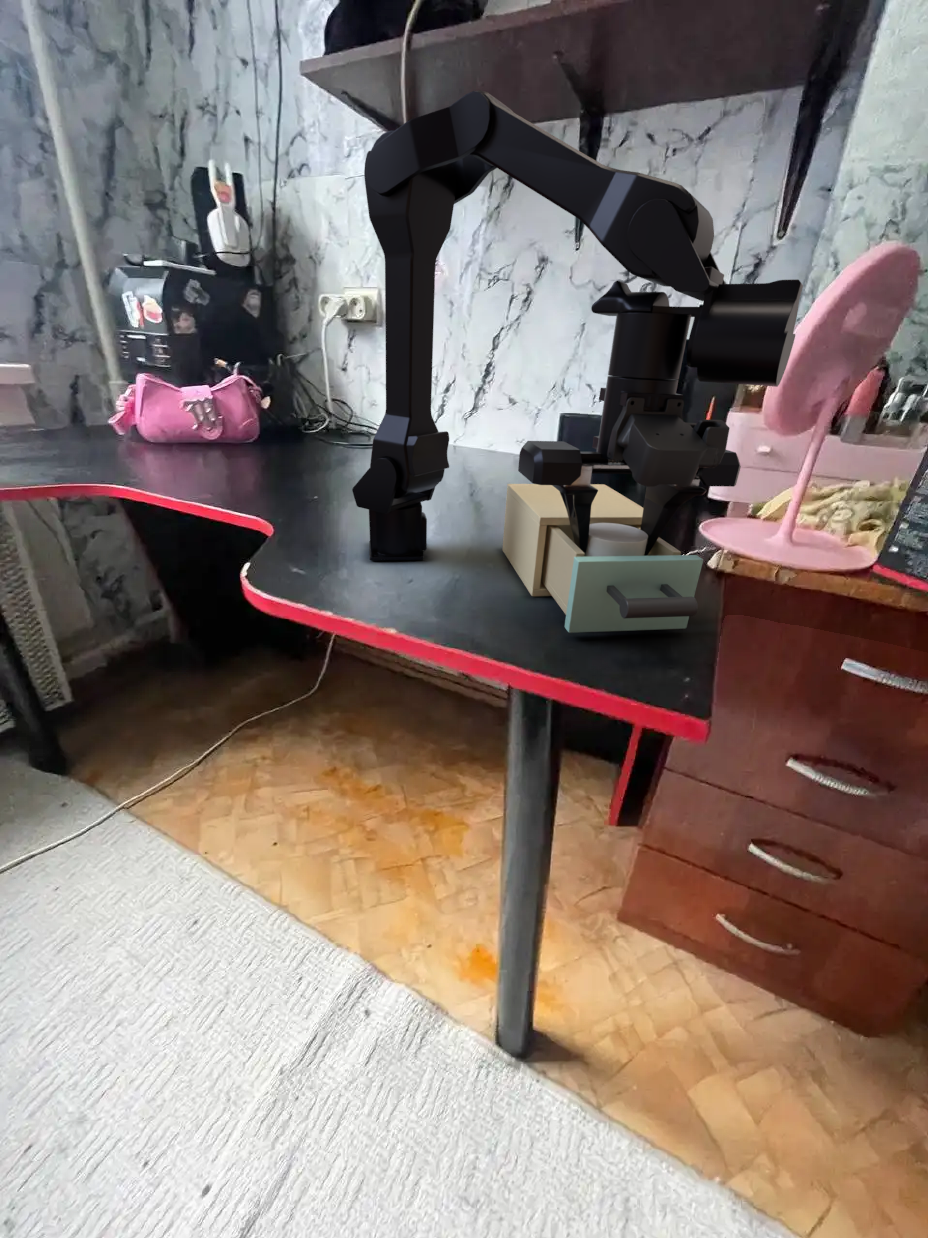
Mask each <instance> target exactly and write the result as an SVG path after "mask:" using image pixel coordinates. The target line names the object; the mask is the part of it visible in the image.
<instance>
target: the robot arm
mask: <svg viewBox="0 0 928 1238" xmlns="http://www.w3.org/2000/svg"><path fill="white" fill-rule="evenodd" d="M496 169H497V170H500V171H502V172H503V173H504V174H506V175H508V176H509V177H511V178H513V179H514V180H515V181H517V182H519V183H520V184H522V185H524V186H525V187H527V188H529V189H530V190H531V191H534V192H535V193H537V194H538V195H539V196H542V197H543V198H544V199H546V200H547V201H549V202H551V203H552V204H554V205H556V206H557V207H559V208H561V209H562V210H564V211H566V212H567V213H568V214H570V215H572V217H575V218H577V219H578V220H579V221H580V222H581V223H582V224H583V225H584V226H585V227H586V228H587V229H588V230H589V231H590V232H591V234H592V235H593V236H594V237H595V239H596V240H597V241H598V242H599V244H600V245H601V246H602V247H603V248H604V249H605V250H606V251H607V252H608V253H609V254H610V255H611V256H612V257H613V258H614V259H615V260H616V261H617V262H618V263H619V264H620V265H621V266H622V267H623V268H624V269H625V270H626V271H627V272H628V273H630V275H633V276H635V277H638V278H641V279H643V280H645V281H648V282H651V283H654V284H656V285H659V286H661V287H666V288H667V287H668V288H669V287H670V288H671V289H673V290H674V291H675V292H677V293H680V294H682V295H685V296H688V297H691V298H693V299H695V300H698V301H701V302H703V303H702V306H671V305H670V300H669V296H668V294H667V293H666V292H664V291H631V288H630V287H629V285H628V283H626V282H623V281H620V280H615V281H614V282H613V284H612V285H611V287H610V288H609V289H608V290H607V291H606V292H605V293H604V294H603V295H602V296H601V297H599V298H598V299H597V300H596V301H595V302H593V303H592V304H591V306H590V307H591V308H590V309H591V310H590V311H591V312H592V313H593V314H597V315H601V316H607V317H615V324H614V329H613V338H612V344H611V350H610V358H609V363H608V371H607V376H606V377H607V378H606V386H605V387H600V390H599V398H598V400H599V401H601V402H602V401H603V407H602V412H601V413H602V414H601V420H600V426H599V433H598V435H594V436H593V438H592V439H593V441H592V446H591V447H592V449H595V450H596V451H581V449H579V448H578V447H575V446H573V445H571V444H570V443H567V442H566V441H561V440H560V441H558V440H556V441H555V440H527V441H526V442H525V443H524V445H523V446H521V449H520V451H519V456H518V457H519V458H518V467H517V468H518V469H517V470H518V471H517V472H519V474H521V475H522V476H523V477H524V478H525V479H526V480H528V481H529V482H530V484H538V485H552V486H554V487H555V488H556V489H557V490H559V491H560V494H561V497H562V499H563V502H564V504H565V507H566V510H567V514H568V517H569V521H570V525H571V529H572V533H573V537H574V541H575V544H576V545H577V546H578V547H579V548H580V549H581V550H582V551H583V552H584V553H585V554H586V550H587V545H588V538H589V527H590V515H591V505H592V502H593V500H594V498H595V496H596V494H597V492H598V490H597V489H596V488H594V487H593V486H591V485H590V484H592V483H591V482H592V475H593V474H595V475H596V474H597V475H598V474H599V475H601V474H603V475H605V474H607V475H631V476H632V479H633V480H634V481H635V482H636V483H637V484H639V485H640V486H643V487H646V488H645V496H644V501H643V515H642V522H641V529H640V530H642V531H644V532H645V533H647V535H648V541H647V546H646V550H645V555H644V556H647V555H648V554H649V552H650V550H651V549H652V547H653V546H654V544H655V542H656V541H657V539H658V538H660V536H661V535H662V533H663V531H664V530H665V528H666V527H667V525H668V523H669V522H670V520H671V519H672V518H673V516H674V515H675V514H676V512H677V511H678V510H679V508H681V506H682V505H683V504H685V503H686V502H688V501H689V500H691V499H692V498H694V497H696V496H697V497H698V496H703V495H704V494H705V493H706V492H707V489H706V488H704V487H702V486H700V482H701V483H702V485H703V486H705V487H735V486H736V485H737V484H738V479H739V475H740V471H741V467H742V465H741V463H740V458H739V456H738V454H737V452H735V451H732V450H729V449H727V445H728V440H729V435H730V428H731V427H729V426H728V424H727V423H725V421H724V420H722V419H705V418H704V419H700V420H699V421H698V422H685V421H684V420H683V419H684V418H683V411H684V410H683V409H684V405H685V402H684V394H681V393H677V389H678V385H679V384H678V383H679V380H680V374H681V369H682V365H683V364H682V363H683V360H684V355H685V350H686V365H687V367H689V368H695V369H696V375H697V379H698V381H699V382H702V383H717V384H732V385H745V386H747V385H748V386H761V387H779V385H780V384H781V381H782V379H783V377H784V374H785V373H786V369H787V365H788V363H789V359H790V356H791V353H792V350H793V348H794V347H793V346H794V343H795V339H796V333H794V330H795V327H796V322H797V318H798V312H799V306H800V305H799V304H800V299H801V295H802V293H803V288H804V285H803V283H802V282H801V280H800V279H777V280H775V281H774V280H773V281H771V282H763V283H757V282H756V283H726V281H725V279H724V278H725V274H724V273H723V272H721V270H720V269H719V267H718V264H717V262H716V260H715V258H714V256H713V254H712V249H713V245H714V244H713V243H714V238H715V229H714V228H715V227H714V226H715V225H714V218H713V217H712V215H711V213H710V211H709V210H708V209H707V208H706V207H705V206H704V205H703V204H702V203H701V202H700V201H699V200H698V199H697V198H696V197H695V196H694V195H692V194H691V192H689V191H688V190H687V189H686V188H685V187H684V186H683V185H682V184H679V183H677V182H674V181H670V180H667V179H663V178H660V177H656V176H653V175H649V174H645V173H642V172H638V171H630V170H623V169H618V168H614V167H610V166H607V165H604V164H602V163H600V162H599V161H597V160H596V159H594V158H592V157H590V156H589V155H587V154H586V153H583V152H582V151H580V150H578V149H577V148H575V147H573V146H572V145H570V144H568V143H566V142H565V141H563V140H561V139H559V138H558V137H557V136H555V135H553V134H552V133H549V132H548V131H546V130H544V129H543V128H541V127H539V126H537V125H536V124H534V123H532V122H531V121H529V120H527V119H525V118H524V117H522V116H520V115H519V114H517V113H515V112H514V111H513V110H512V109H511V108H510V107H509V106H507V105H505V104H504V103H503V102H501V101H500V100H499V99H497V97H494V96H493V95H492V94H490V93H489V92H488V91H485V90H481V89H479V90H478V89H477V90H476V91H475V90H473V91H470V92H468V93H466V94H464V95H463V96H462V97H460V98H459V99H458V100H456V101H454V103H452V104H450V105H449V106H447V107H443V108H441V109H438V110H435V111H432V112H429V113H426V114H422V115H419V116H416V117H413V118H411V119H409V120H407V121H406V122H404V123H403V124H402V125H400V126H399V127H398V128H397V129H395V130H388V131H386V132H384V133H382V134H381V135H380V136H379V137H378V138H377V139H376V140H375V142H374V144H373V145H372V147H371V149H370V150H368V151H367V153H366V157H365V161H364V170H363V174H364V186H365V194H366V203H367V209H368V210H367V211H368V217H369V220H370V223H371V226H372V228H373V231H374V233H375V235H376V237H377V240H378V243H379V245H380V248H381V250H382V252H383V256H384V303H385V304H384V310H385V312H384V315H385V316H384V317H385V319H384V322H385V324H384V325H385V328H384V329H385V330H384V331H385V333H384V335H385V412H384V415H383V417H382V419H381V422H380V424H379V426H378V428H377V430H376V432H375V435H374V437H373V439H372V447H371V455H370V462H369V463H370V464H369V468H368V469H367V470H366V472H365V473H364V474H363V475H362V476H361V478H360V479H359V480H358V481H357V482H356V483H355V485H353V487H352V489H351V492H352V494H353V498H354V502H355V505H356V507H357V508H361V509H364V510H368V519H369V520H368V524H369V527H368V528H369V543H368V544H369V545H368V546H369V547H368V548H369V549H368V550H369V551H368V553H369V554H368V555H369V556H368V557H369V559H368V560H369V561H373V562H374V561H422V560H424V559H425V555H424V552H425V551H426V550H427V547H428V546H427V545H428V544H427V541H428V540H427V538H428V537H427V536H428V535H427V533H428V519H427V515H426V513H425V512H424V511H423V505H422V502H428V501H430V500H432V498H433V496H434V493H435V489H436V487H437V485H439V484H440V483H441V482H442V480H443V479H444V475H445V469H449V468H450V463H449V459H448V451H449V450H448V449H449V443H450V433H449V432H448V431H445V430H444V431H439V429H438V427H437V424H436V422H435V420H434V418H433V414H432V391H433V389H432V388H433V354H434V325H435V323H434V320H435V290H436V289H435V285H436V283H435V282H436V262H437V259H438V257H439V254H440V252H441V249H442V247H443V245H444V243H445V241H446V239H447V236H448V235H449V233H450V230H451V227H452V219H453V214H454V206H455V204H457V203H459V202H460V201H462V200H464V199H465V198H467V197H469V196H470V195H472V194H474V192H475V191H476V190H477V189H478V187H479V186H480V185H481V184H482V182H483V181H484V180H485V179H486V178H487V176H488V175H489V174H490V173H492V172H493V171H495V170H496ZM692 318H693V322H692V326H691V329H690V324H691V320H692ZM689 329H690V333H689ZM688 335H689V337H688ZM686 344H687V348H686ZM584 556H585V555H584Z"/></svg>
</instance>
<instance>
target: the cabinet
mask: <svg viewBox="0 0 928 1238" xmlns="http://www.w3.org/2000/svg"><path fill="white" fill-rule="evenodd" d="M590 485H591V486H593V487H594V488H596V489H597V490H598V492H597V494H596V496H595V498H594V500H593V502H592V505H591V515H590V524H594V523H615V524H622V525H641V522H642V515H643V508H644V506H643V507H642V505H640V504H638V503H636V502H634V501H633V500H631V499H629V498H628V497H627V496H624V495H623V494H621V493H619V492H618V491H616V490H614V489H613V488H612V487H610V486H609V485H606V484H603V483H601V484H599V483H597V484H595V483H594V484H593V483H590ZM547 525H570V521H569V517H568V514H567V510H566V507H565V504H564V502H563V499H562V497H561V494H560V491H559V490H557V489H556V488H555V487H554V486H552V485H538V484H533V483H507V485H506V499H505V511H504V525H503V526H504V527H503V538H502V552H503V553H504V555H505V556H506V557H505V558H507V560H508V562H509V563H510V564H511V566H512V568H513V569H514V571H515V572H516V574H517V576H518V577H519V579H520V580H521V582H522V583H523V585H524V587H525V588H526V589H527V591H528V593H529V594H530V596H531V597H553V596H552V595H551V594H550V592H549V591H548V589H547V588H546V587H545V585H544V584H543V582H542V581H541V573H542V564H543V555H544V546H545V537H546V528H547Z"/></svg>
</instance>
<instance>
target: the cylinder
mask: <svg viewBox="0 0 928 1238" xmlns="http://www.w3.org/2000/svg"><path fill="white" fill-rule="evenodd" d="M647 541H648V535H647V533H645V532H644V531H642V530H640V529H638V528H635V527H631V526H627V525H622V524H615V523H594V524H590V527H589V538H588V545H587V550H586V554H585V556H584V557H595V556H644V555H645V550H646V546H647Z"/></svg>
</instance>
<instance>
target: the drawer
mask: <svg viewBox="0 0 928 1238" xmlns="http://www.w3.org/2000/svg"><path fill="white" fill-rule="evenodd" d="M627 526H631V527H635V528H638V529H641V525H627ZM584 555H585V553H584V552H583V551H582V550H581V549H580V548H579V547H578V546H577V545H576V544H575V541H574V537H573V533H572V529H571V525H547V528H546V537H545V546H544V555H543V564H542V573H541V581H542V582H543V584H544V585H545V587H546V588H547V589H548V591H549V592H550V594H551V595H552V596H551V597H552V598H553V599H554V601H555V602H556V603H557V605H558V606H559V607H560V609H561V610H562V611H563V614H564V615H565V620H564V628H565V630H566V632H567V633H569V634H573V633H574V634H575V633H577V634H578V633H598V632H599V633H601V632H627V631H629V632H630V631H654V630H655V631H656V630H679V629H680V630H681V629H683V630H684V629H687V627H688V623H689V619H690V617H694V616H695V615H696V614H698V613H697V612H698V610H699V609H698V608H699V604H698V601H697V599H696V598H695V594H696V591H697V588H698V587H697V586H698V584H699V583H698V582H699V578H700V575H701V571H702V567H703V564H704V558H702V557H700V556H698V555H697V554H682V551H680V550H679V549H677V548H676V547H674V546H673V545H671V544H670V543H668V542H667V541H665V540H664V539H662V538H661V537H659V538H658V539H657V541H656V542H655V544H654V546H653V547H652V549H651V550H650V552H649V554H648V555H647V556H595V557H584Z"/></svg>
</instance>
